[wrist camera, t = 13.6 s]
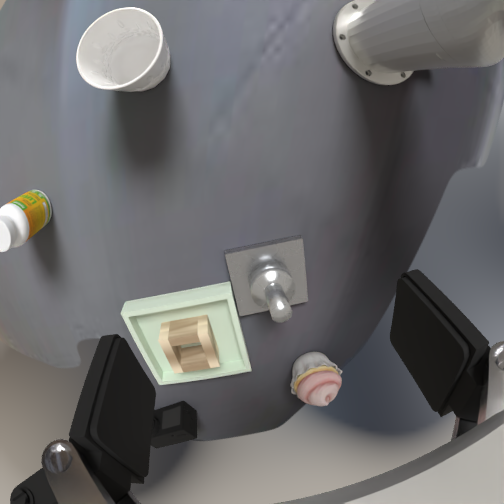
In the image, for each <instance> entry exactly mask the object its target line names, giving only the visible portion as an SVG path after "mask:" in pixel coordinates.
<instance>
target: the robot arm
mask: <svg viewBox="0 0 504 504" xmlns="http://www.w3.org/2000/svg"><path fill="white" fill-rule="evenodd" d="M333 36H334V42H335V44H336V47H337V50H338V52H339V54H340V56H341V57H342V59H343V60H344V61H345V63H346V64H347V65H348V66H349V67H350V68H351V69H352V71H353V72H355V73H356V74H357V75H359V76H360V77H361V78H363V79H365V80H367V81H369V82H372V83H375V84H379V85H394V84H399V83H401V82H403V81H405V80H406V79H407V78H409V77H410V76H411V74H412V73H413V72H414V71H416V70H426V69H439V68H458V67H486V66H491V65H494V64H496V63H497V62H499V61H500V60H501V59H502V58H503V57H504V0H377V1H375V0H355V1H352V2H350V3H348V4H346V5H345V6H343V7H342V8H341V9H340V10H339V12H338V13H337V15H336V17H335V20H334V24H333ZM339 37H340V38H341V39H340V38H339ZM365 72H366V73H365ZM390 341H391V343H392V345H393V347H394V348H395V350H396V351H397V353H398V354H399V356H400V358H401V359H402V361H403V362H404V364H405V365H406V367H407V369H408V370H409V372H410V373H411V375H412V376H413V378H414V380H415V382H416V383H417V385H418V386H419V388H420V390H421V391H422V393H423V395H424V396H425V398H426V400H427V401H428V403H429V405H430V406H431V408H432V409H433V410H434V411H435V412H437V411H438V413H439V414H440V416H441V417H442V416H444V415H446V414H448V413H450V412H451V411H454V413H455V415H456V420H455V425H454V430H453V434H452V439H451V441H450V442H448V443H447V444H445V445H443V446H441V447H439V448H437V449H435V450H434V451H431V452H430V453H428V454H426V455H424V456H422V457H419V458H417V459H415V460H413V461H411V462H409V463H407V464H404V465H402V466H400V467H397V468H395V469H393V470H390V471H388V472H385V473H383V474H380V475H378V476H375V477H373V478H370V479H367V480H364V481H361V482H358V483H355V484H352V485H349V486H346V487H343V488H340V489H336V490H333V491H329V492H325V493H322V494H318V495H314V496H310V497H306V498H301V499H296V500H292V501H287V502H281V503H276V504H504V341H503V342H498V343H496V344H495V345H493V346H492V348H490V347H489V346H488V344H489V341H488V340H487V339H486V338H485V337H484V336H483V335H482V334H481V332H480V331H479V330H478V329H477V328H476V327H475V326H474V325H473V324H472V323H471V322H470V320H469V319H468V318H467V317H466V316H465V315H464V314H463V313H462V312H461V311H460V310H459V309H458V308H457V307H456V306H455V305H454V304H453V303H452V302H451V301H450V300H449V299H448V298H447V297H446V296H445V295H444V294H443V293H442V292H441V291H440V290H439V289H438V288H437V287H436V286H435V285H434V284H433V283H432V282H431V281H430V280H429V279H428V278H427V277H426V276H425V275H424V274H423V273H422V272H421V271H419V270H412V271H409V272H406V273H403V274H402V275H401V278H400V279H399V280H398V282H397V291H396V299H395V306H394V313H393V320H392V326H391V332H390ZM155 397H156V392H155V388H154V386H153V384H152V383H151V381H150V380H149V378H148V377H147V375H146V373H145V372H144V370H143V369H142V367H141V365H140V364H139V362H138V360H137V359H136V357H135V355H134V354H133V352H132V350H131V348H130V347H129V345H128V343H127V341H126V340H125V339H124V338H121V337H120V336H119V335H118V334H114V335H106V336H102V337H101V339H100V341H99V344H98V346H97V349H96V352H95V354H94V357H93V360H92V363H91V366H90V369H89V371H88V374H87V377H86V380H85V383H84V386H83V389H82V392H81V395H80V399H79V402H78V405H77V408H76V411H75V415H74V419H73V422H72V425H71V429H70V433H69V436H70V438H69V441H68V440H64V439H57V440H54V441H53V442H51V443H49V444H48V445H47V447H46V448H45V449H44V451H43V454H42V461H41V463H42V467H43V468H42V469H40V470H39V471H37V472H36V473H35V474H33V475H32V476H30V477H29V478H28V479H26V480H25V481H23V482H22V483H21V484H19V485H18V486H17V487H16V488H14V490H13V492H12V493H11V498H10V504H141V503H140V502H139V501H138V500H137V499H136V497H135V496H134V495H133V493H132V492H131V491H130V486H131V483H142V484H144V477H146V476H147V475H148V470H149V456H150V444H151V434H152V424H153V414H154V406H155Z"/></svg>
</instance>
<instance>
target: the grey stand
mask: <svg viewBox="0 0 504 504" xmlns="http://www.w3.org/2000/svg"><path fill="white" fill-rule="evenodd" d="M225 256H226V261H227V265H228V269H229V274H230V278H231V282H232V286H233V291H234V295H235V299H236V303H237V307H238V311H239V316H244V315H249V314H254V313H258V312H263V311H268V310H270V314H271V317H272V319H273V320H274V321H275V322H279V323H281V322H285V321H287V320H289V319H290V317H291V316H292V309H291V307H290V305H294V304H299V303H303V302H307V301H308V296H307V282H306V270H305V259H304V248H303V238H302V237H301V236H300V235H297V236H292V237H288V238H283V239H278V240H273V241H268V242H263V243H258V244H253V245H248V246H244V247H239V248H234V249H229V250H225Z"/></svg>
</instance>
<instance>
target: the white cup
mask: <svg viewBox="0 0 504 504" xmlns="http://www.w3.org/2000/svg"><path fill="white" fill-rule="evenodd" d="M76 62H77V67H78V70H79V73H80V75H81V76H82V78H83V79H84V80H85V81H86V82H87V83H89V84H90V85H92V86H94V87H96V88H100V89H106V90H115V91H128V92H133V91H140V92H142V91H145V90H148V89H151V88H154V87H155V86H156V85H158V84H159V83H160V82H161V81H162V80H164V79H165V77H166V75H167V73H168V71H169V69H170V53H169V48H168V45H167V42H166V39H165V37H164V34H163V31H162V29H161V26H160V24H159V22H158V21H157V19H156V18H155V17H154V16H153V15H151V14H150V13H149V12H147V11H145V10H142V9H138V8H121V9H117V10H113V11H111V12H108V13H106V14H105V15H103V16H101V17H100V18H98V19H97V20H96V21H95V22H94V23H92V24H91V25H90V27H89V28H88V29H87V30H86V32H85V33H84V35H83V36H82V38H81V40H80V42H79V45H78V49H77V55H76Z"/></svg>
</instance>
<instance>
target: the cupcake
mask: <svg viewBox="0 0 504 504" xmlns="http://www.w3.org/2000/svg"><path fill="white" fill-rule="evenodd" d="M341 373H342V370H340V369H339V368H337V365H336V364H334V363H332V362H331V361H330V360H329V359H328V358H327V357H326V356H325V355H324V354H322V353H320V352H308V353H306V354H303V355H301V356H300V357H299V358H297V359H296V361H295V362H294V364H293V368H292V376H293V378H292V381H291V387H292V390H291V392H292V393H293V394H297V397H298V398H300V399H301V400H302V401H303V402H305V403H307V404H310V405H316V406H326V405H328V403H329V402H331V401H332V400H333V399H334V398H335V397H336V395H337V392H338V390H339V388H340V387H341V382H342V381H341V380H342V379H341V377H340V375H341Z"/></svg>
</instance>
